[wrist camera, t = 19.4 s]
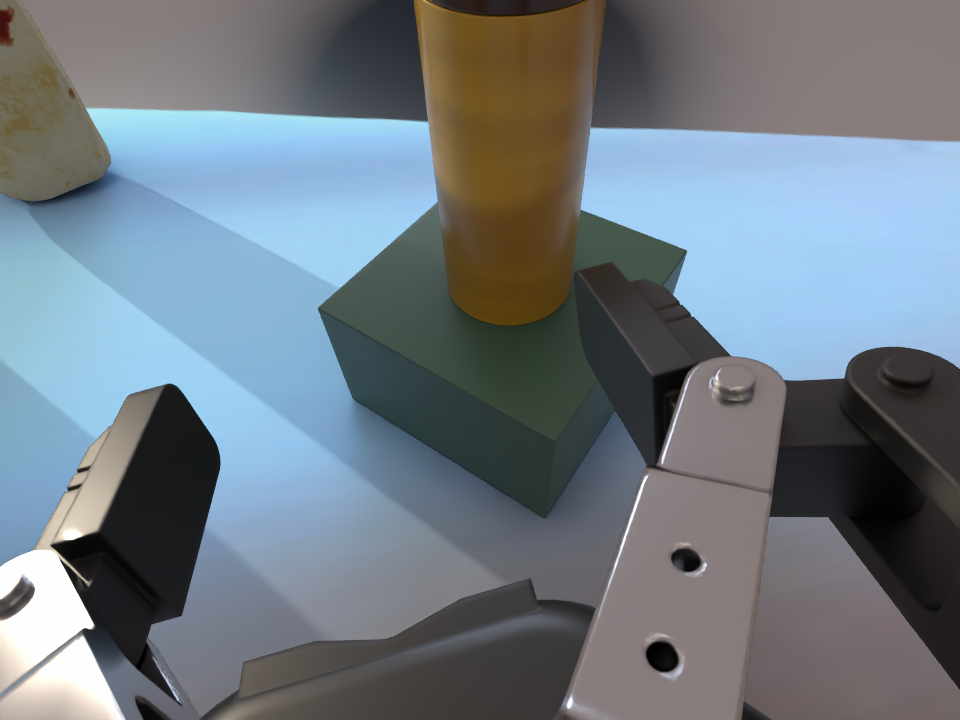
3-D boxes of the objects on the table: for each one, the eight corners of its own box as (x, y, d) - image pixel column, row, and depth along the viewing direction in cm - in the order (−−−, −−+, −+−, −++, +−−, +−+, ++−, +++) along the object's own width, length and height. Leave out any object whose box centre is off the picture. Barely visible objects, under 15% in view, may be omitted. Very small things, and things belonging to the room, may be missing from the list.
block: (545, 519, 22) (555, 442, 17) (352, 398, 26) (316, 308, 21) (656, 347, 27) (688, 249, 22) (479, 266, 31) (474, 168, 26)
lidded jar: (528, 346, 20) (545, -21, 11) (422, 292, 21) (362, -62, 12) (593, 266, 22) (651, -93, 13) (492, 223, 23) (483, -119, 15)
